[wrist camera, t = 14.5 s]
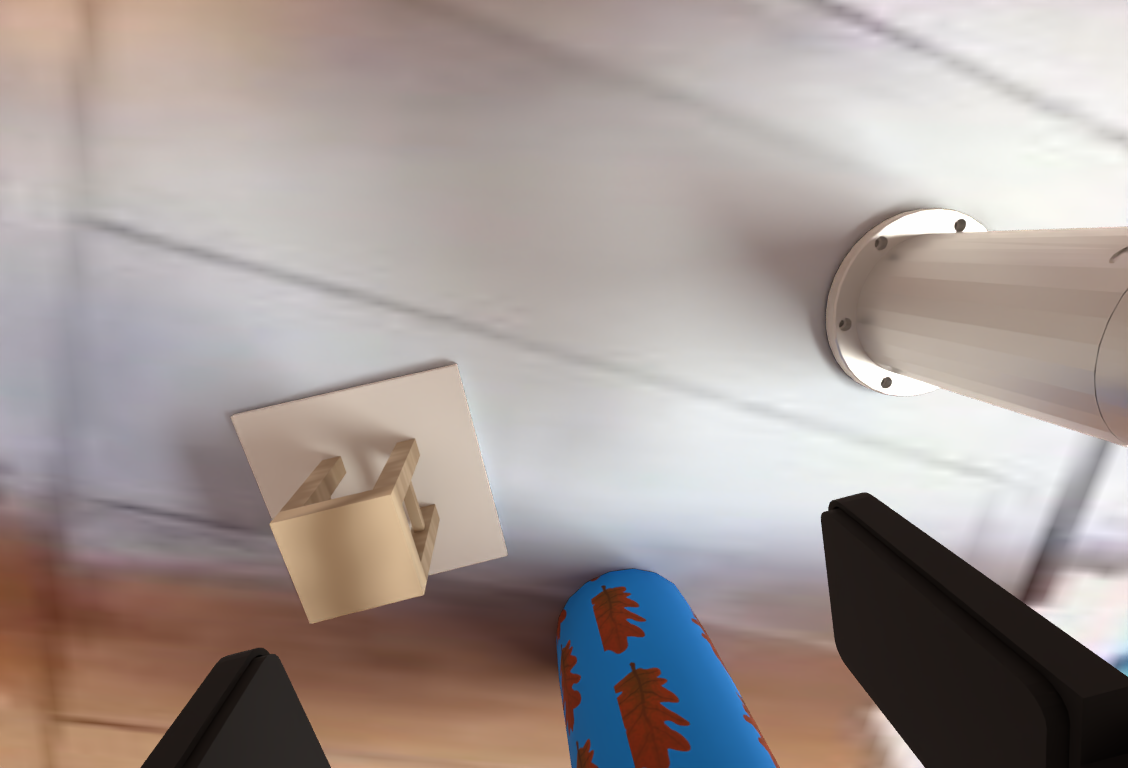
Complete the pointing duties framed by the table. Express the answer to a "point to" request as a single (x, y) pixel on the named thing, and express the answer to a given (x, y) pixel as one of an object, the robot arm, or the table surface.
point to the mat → (384, 454)
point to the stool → (357, 539)
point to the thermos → (648, 682)
